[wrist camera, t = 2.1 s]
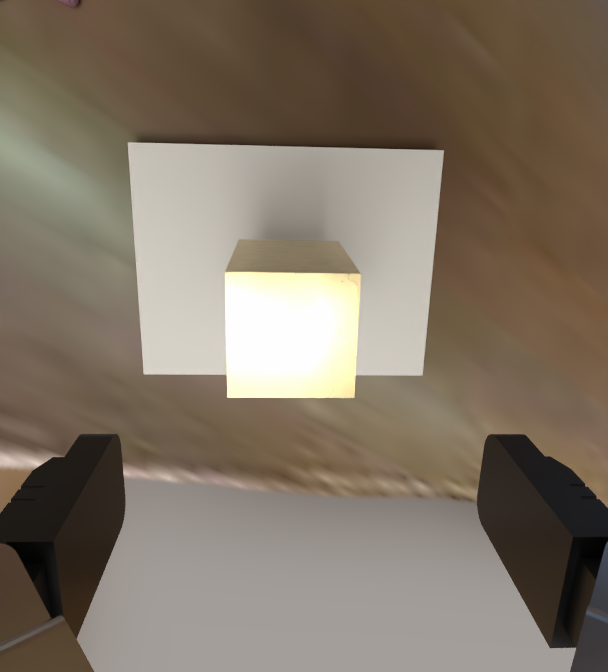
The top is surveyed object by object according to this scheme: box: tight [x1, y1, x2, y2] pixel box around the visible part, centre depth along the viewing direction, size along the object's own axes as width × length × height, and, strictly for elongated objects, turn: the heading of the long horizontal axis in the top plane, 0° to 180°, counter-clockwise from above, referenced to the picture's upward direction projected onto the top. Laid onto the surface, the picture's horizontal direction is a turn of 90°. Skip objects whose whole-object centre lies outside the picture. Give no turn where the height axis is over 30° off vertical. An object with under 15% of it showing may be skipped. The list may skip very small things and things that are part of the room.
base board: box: [128, 142, 444, 375], centre depth 35 cm, size 18×14×2 cm
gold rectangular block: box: [225, 239, 361, 398], centre depth 25 cm, size 5×5×8 cm
